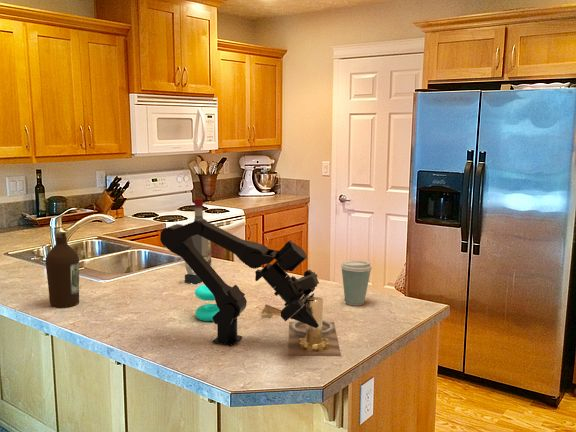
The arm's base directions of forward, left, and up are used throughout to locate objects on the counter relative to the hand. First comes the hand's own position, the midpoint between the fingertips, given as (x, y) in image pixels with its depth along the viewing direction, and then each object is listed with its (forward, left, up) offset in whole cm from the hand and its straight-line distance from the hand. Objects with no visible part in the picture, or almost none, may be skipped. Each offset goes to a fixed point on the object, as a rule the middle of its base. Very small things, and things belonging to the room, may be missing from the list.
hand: (319, 324), depth 151 cm
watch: (+47, +67, -8) cm, 82 cm away
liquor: (+71, +78, -8) cm, 105 cm away
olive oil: (+6, +94, -8) cm, 94 cm away
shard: (+23, +25, -8) cm, 35 cm away
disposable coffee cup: (+45, +1, -8) cm, 46 cm away
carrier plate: (+6, +4, -8) cm, 10 cm away
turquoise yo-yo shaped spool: (+13, +41, -8) cm, 43 cm away
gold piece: (0, +1, -7) cm, 7 cm away
